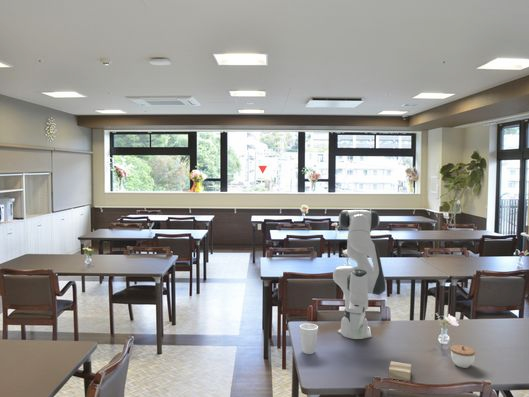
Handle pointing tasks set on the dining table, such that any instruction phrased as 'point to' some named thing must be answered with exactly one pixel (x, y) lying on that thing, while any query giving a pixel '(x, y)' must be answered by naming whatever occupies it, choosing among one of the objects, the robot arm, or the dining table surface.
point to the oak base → (400, 371)
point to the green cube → (361, 332)
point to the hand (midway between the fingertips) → (357, 332)
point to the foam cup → (308, 337)
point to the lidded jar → (462, 355)
